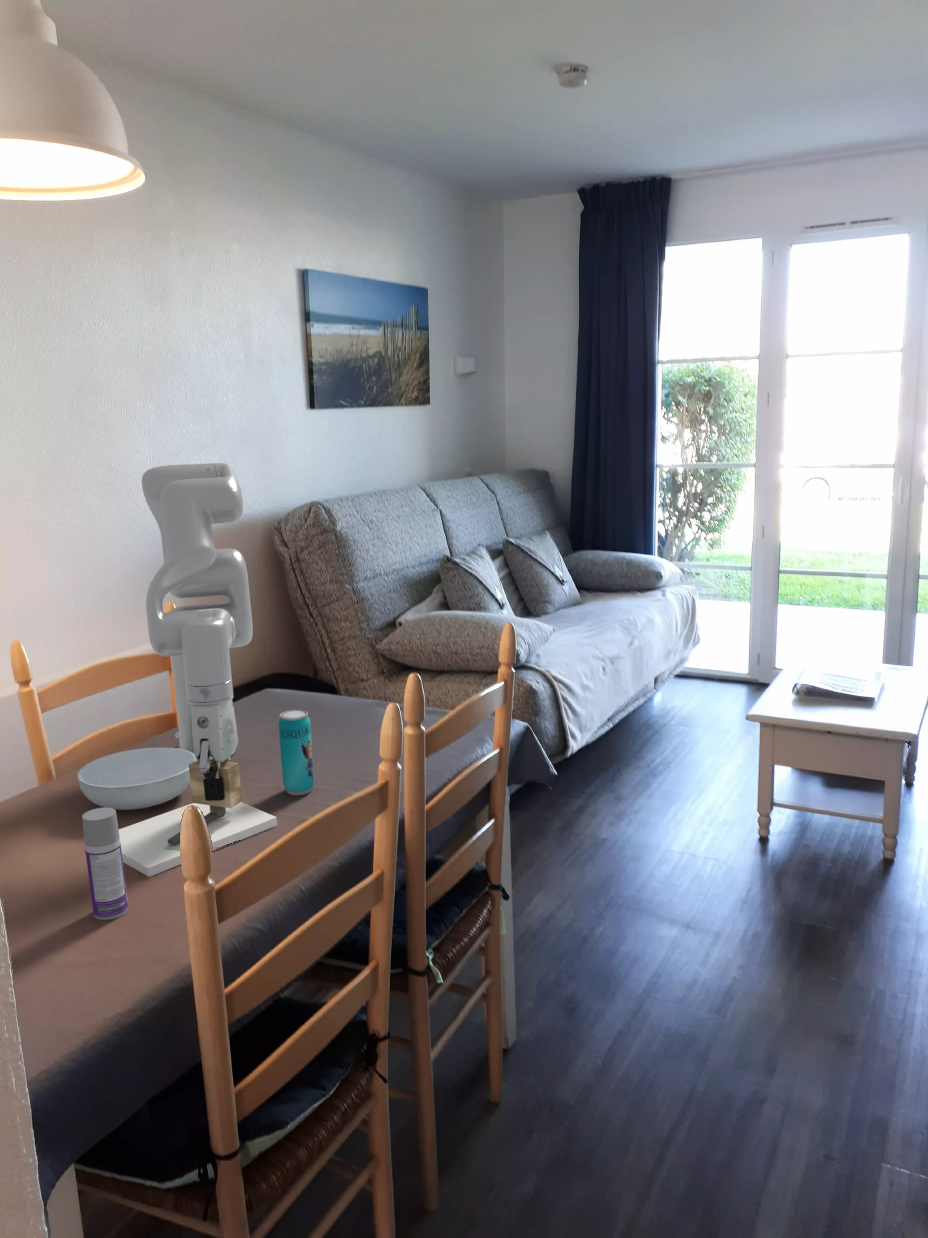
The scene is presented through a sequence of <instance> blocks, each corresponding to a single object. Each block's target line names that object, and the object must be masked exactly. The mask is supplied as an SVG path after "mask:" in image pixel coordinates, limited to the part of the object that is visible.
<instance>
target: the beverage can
mask: <svg viewBox="0 0 928 1238" xmlns="http://www.w3.org/2000/svg"><path fill="white" fill-rule="evenodd" d="M308 715H309V712H308V711H307V710H304V709H292V710H291V709H290V710H286V711H283V712H281V713H280V714H279V721H278V723H277V725H278V735H279V749H280V761H281V774H282V784H283V786H284V789H285V791H286V793H287V794H289V795H291V796H303V795H307V794H309V793H310V792H311V791H312V790H313V786H314V784H315V770H314V757H313V743H312V742H313V741H312V731H311V730H312V728H311V719H310V717H309V716H308Z"/></svg>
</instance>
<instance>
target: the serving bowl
mask: <svg viewBox="0 0 928 1238" xmlns="http://www.w3.org/2000/svg"><path fill="white" fill-rule="evenodd" d="M195 760H196V759H195V755H194V754H193V753H191V752H189V751H187V750H183V749H178V747H158V746H157V747H144V748H143V747H142V748H136V749H128V750H124V751H119V752H115V753H111V754H108V755H104V756H102V757H101V756H100V757H98V758H96V759H94V760H92V761H90V762H88V763H86V764H85V765H84V766H82V767H81V768H80V769H79V771H78V772H77V777H76V778H77V781H78V785H79V788H80V790H81V791H82V793H83V795H84V796H85V797H86V798H87V799H88V800H89V801H90V802H92V803H94V804H95V805H97V806H99V807H101V808H113V809H115V810H119V811H120V810H121V811H122V810H123V811H125V810H129V811H130V810H141V809H147V808H151V807H154V806H158V805H161V804H164V803H166V802H168V801H170V800H173V799H174V798H176V797H178V796H180V795H181V794H182V793H183V792H185V790H187V788H189V786H191V783H190V774H189V764H190V763H192V762H194V761H195Z"/></svg>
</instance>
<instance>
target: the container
mask: <svg viewBox="0 0 928 1238" xmlns="http://www.w3.org/2000/svg"><path fill="white" fill-rule="evenodd" d="M81 819H82V829H83V839H84V851H85V858H86V865H87V874H88V881H89V882H88V883H89V891H90V897H91V905H92V912H93V913H92V914H93V917H94V918H95V919H96V920H99V921H111V920H114V919H118V918H120V917H122V916H124V915H125V914H126V913H127V912H128V911H129V903H128V894H127V893H128V892H127V886H126V885H127V884H126V876H125V869H124V862H123V859H122V851H121V843H120V836H119V829H120V828H119V824H118V816H117V809H113V808H105V807H97V808H94V809H91V810H88V811H86V812H84V813H83V814H82V816H81Z"/></svg>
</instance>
